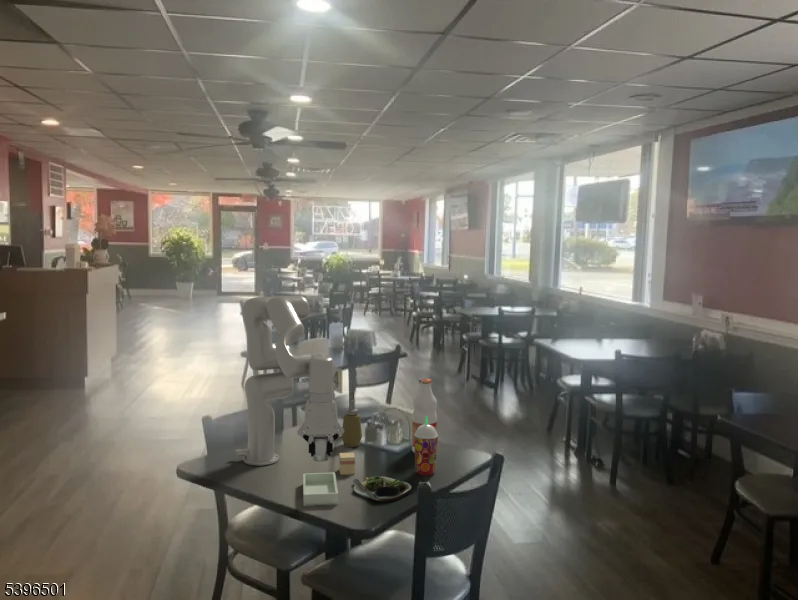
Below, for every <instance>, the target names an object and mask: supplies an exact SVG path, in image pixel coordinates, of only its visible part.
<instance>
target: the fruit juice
mask: <svg viewBox="0 0 798 600" xmlns="http://www.w3.org/2000/svg"><path fill="white" fill-rule="evenodd" d="M432 380H433V379H431V378H419V379H418V384H419V388H418V391H417V393H416V395H415V396H414V398H413V399H412V400H413V401H412V405H413V412H412V417H411V421H412V424H411V426H412V428H411V451H412V452H413V454H415V440H414V433H415V432H416V430H417V429H418V427H419V426H421V425H423V424H426V416H427V417H428V418H427V424H429V425H431V426H433V427H434V428H435V430H436V432H437V429H438V428H437V427H438V426H437V425H438V416H437V412H436V411H437V410H436V409H437V407H438V406H437V405H438V401H437V398H436V397H435V395H434V393H433V390H432V384H433V381H432Z"/></svg>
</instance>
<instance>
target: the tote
mask: <svg viewBox="0 0 798 600" xmlns="http://www.w3.org/2000/svg"><path fill="white" fill-rule="evenodd" d="M337 483H338V482H337V477H336V473H335V472H334V471H333V472H312V473H311V472H310V473H309V472H308V473H303V474H302V492H303V495H302V498H303V502H302V503H303V507H316V506H315V505H323V506H338V505H339V490H338V484H337Z"/></svg>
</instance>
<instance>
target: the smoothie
mask: <svg viewBox="0 0 798 600" xmlns="http://www.w3.org/2000/svg"><path fill="white" fill-rule="evenodd" d="M427 418H428V417H427V416H426V424H423V425H421V426H419V427H418V429H417V430H416V432H415V433H414V440H415V453H414V460H415V462H414V463H415V470H416V473H417V474H418V475H420V476H423V477H424V476H431V475H433V474H434V472H435V471H436V465H437V451H438V441H439V434H438V433H437V432H436V430H435V428H434V427H433V426H431V425H429V424H427Z"/></svg>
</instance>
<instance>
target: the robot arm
mask: <svg viewBox="0 0 798 600" xmlns="http://www.w3.org/2000/svg"><path fill="white" fill-rule="evenodd" d="M310 309H311V308H310V303H309V302H308V300H307V299H306V298H305V296H303V295H297V294H296V295H278V296H277V295H275V296H257V297H256V296H255V297H252V298H249V299H246V301H245V302H244V304H243V307H242V318H243V322H244V324H245V325H244V326H245V329H246V332H247V354H248V355H247V356H248V359H247V360H248V364H249V367H250V369H251V370H253V371H269V370H276V371H277V372H267V373H258V374H253V375H252V376H250V377H248V378H247V379H246V381H245V383H244V389H245V390H244V391H245V397H246V404H247V406H246V407H247V447H246V448H244V449H241V448H240V449H239V448H238V449H237V448H236V449H235V451H234V452H235V456H238V457H243V462H244V463H245V464H247V465H250V466H254V467H255V466H260V467H261V466H269V465H272V464H275V463H277V462H278V461H279V460H280V455H279V454H278V453H276V452H275V451H276V450H275V449H276V448H275V447H276V446H275V445H276V441H275V440H276V439H275V437H276V436H275V435H276V431H275V430H276V427H275V425H276V424H275V422H276V421H275V420H276V419H275V418H276V416H275V415H276V414H275V409H274V408H273V406H272V405H271V403H270V402H269V401H271V400H277V399H283V398H288V397H290V396H291V395H292V393H293V391H294V383H295V382H294V379H300V378H308V391H307V392H305V393H303V398H304V399H307V400H306V403H305V407H304V417H303V418H304V419H303V421H304V422H303V423H302V424H301V426H300V427H299V429H298V430H297V431H296V434H297V435H298V436H299V437H301V438H303V439H304V441H305V442H307V444H308V454H310V457H312V458H313V436H316V435H327V436H328V457H331V453H333V451H334V448H333V447H334V442H335V441H336V440H337V439H338V438H339V437H340V436H342V434H343V433H344V429H343V428H342V427H343V426H342V425H341V424H340V423H339V422H338V421H339V420H338V406H337V403H336V400H335V399H334V373H335V371H334V369H335V368H334V366H335V365H334V364H335V363H334V360H333V358H332V357H330V356H326V355H324V354H323V353H322V352H318V351H314V352H313V351H312V352H300V353H293V352H292V349H291V347H290V345H292V344H293V343H296V342H297V341H298V340H300V339H301V338H302V337H303V335H304V333H305V326H304V324H303V322H302V320H306V319H307V318H308V317H309V314H310V311H311V310H310ZM266 321H271V322H272V324H273V326H274V329H275V330H276V332H277V334H278V336H279V338H278V339H277V341H276V342H273V333H272V329H271V327H270V326H269V325H268V323H267V322H266Z"/></svg>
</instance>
